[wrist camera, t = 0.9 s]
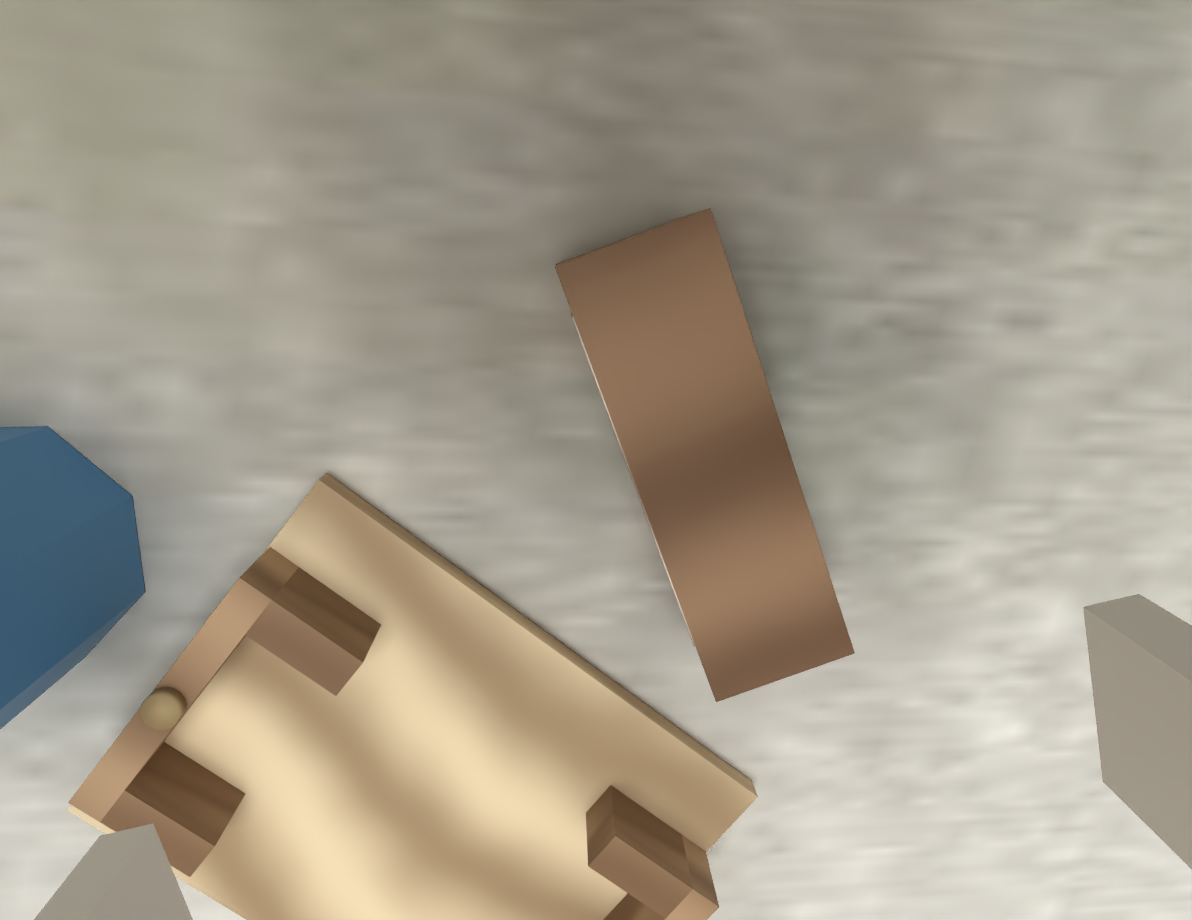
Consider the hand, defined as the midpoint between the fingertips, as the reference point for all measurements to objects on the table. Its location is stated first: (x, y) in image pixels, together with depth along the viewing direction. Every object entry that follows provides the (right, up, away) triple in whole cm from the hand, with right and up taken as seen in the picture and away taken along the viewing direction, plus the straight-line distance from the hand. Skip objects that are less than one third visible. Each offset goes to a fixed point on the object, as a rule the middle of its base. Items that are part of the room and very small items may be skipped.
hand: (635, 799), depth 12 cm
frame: (+3, +6, +19) cm, 20 cm away
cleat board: (-7, -8, +22) cm, 24 cm away
